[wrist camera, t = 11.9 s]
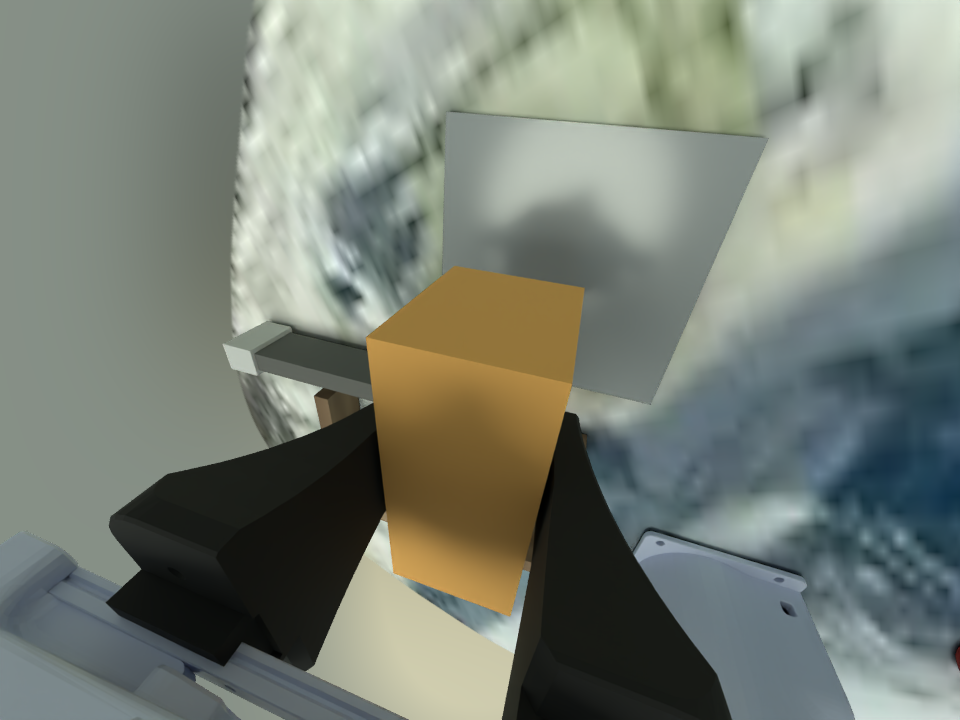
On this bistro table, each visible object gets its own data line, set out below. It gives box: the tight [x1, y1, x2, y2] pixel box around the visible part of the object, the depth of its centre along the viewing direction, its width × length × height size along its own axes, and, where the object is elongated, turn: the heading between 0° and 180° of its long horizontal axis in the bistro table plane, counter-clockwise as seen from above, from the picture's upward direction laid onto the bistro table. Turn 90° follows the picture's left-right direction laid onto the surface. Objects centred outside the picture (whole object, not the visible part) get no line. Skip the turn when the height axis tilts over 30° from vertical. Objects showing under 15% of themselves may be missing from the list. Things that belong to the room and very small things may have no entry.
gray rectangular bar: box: [223, 321, 373, 401], centre depth 22 cm, size 10×2×3 cm, turn 86°
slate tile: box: [442, 112, 769, 405], centre depth 17 cm, size 12×12×1 cm
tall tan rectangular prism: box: [366, 266, 585, 616], centre depth 11 cm, size 4×9×5 cm, turn 176°
